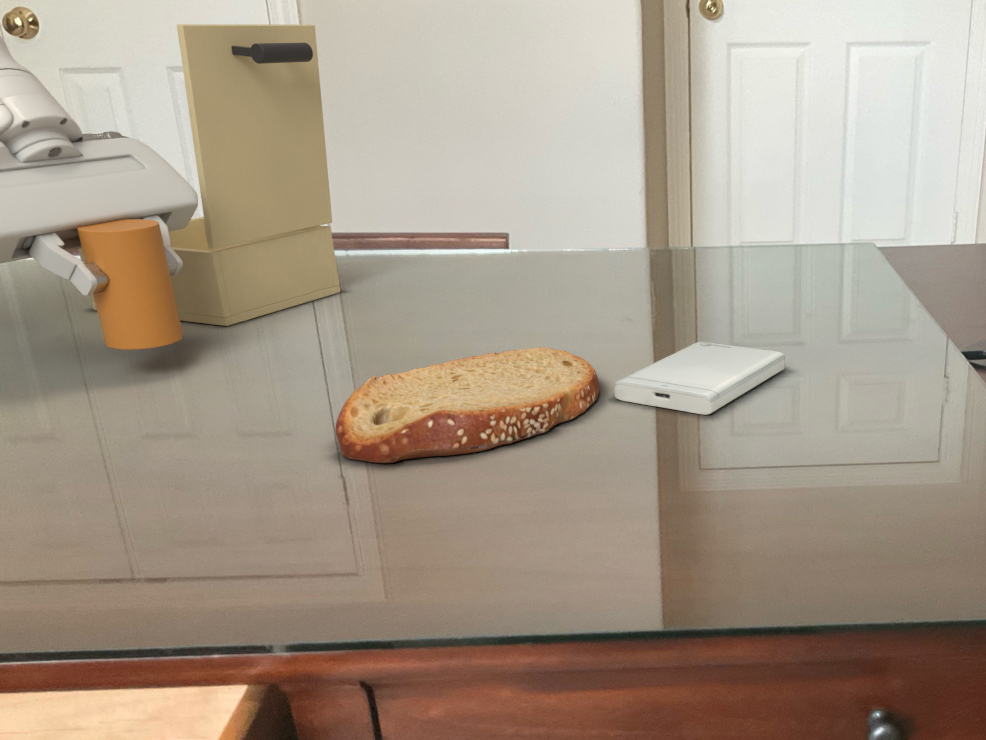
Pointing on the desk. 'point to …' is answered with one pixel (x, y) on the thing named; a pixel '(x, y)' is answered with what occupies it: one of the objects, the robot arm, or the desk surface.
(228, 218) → the lid
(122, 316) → the orange cylinder
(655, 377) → the hard drive
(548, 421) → the slice of bread
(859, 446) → the desk surface
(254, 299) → the breadbox
